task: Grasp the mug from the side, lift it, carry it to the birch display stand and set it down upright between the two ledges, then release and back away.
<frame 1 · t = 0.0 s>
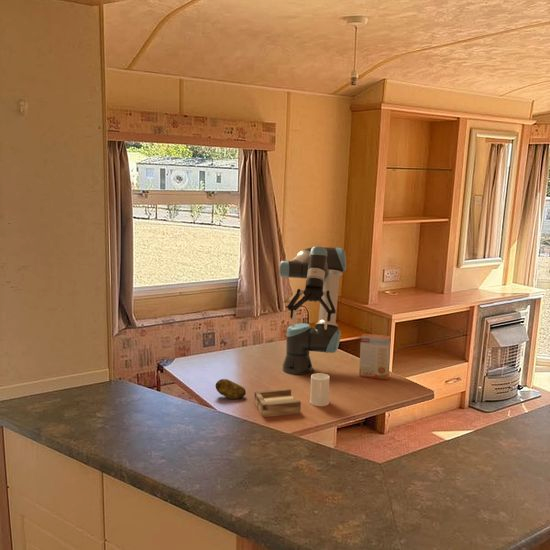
hand: (308, 327, 232), 36 cm above the table, tool tilted 35°, fingers open, 13 cm apart
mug: (319, 404, 244), on the table
cracker box: (374, 376, 279), on the table
potato: (230, 397, 250), on the table
display stand: (277, 408, 239), on the table
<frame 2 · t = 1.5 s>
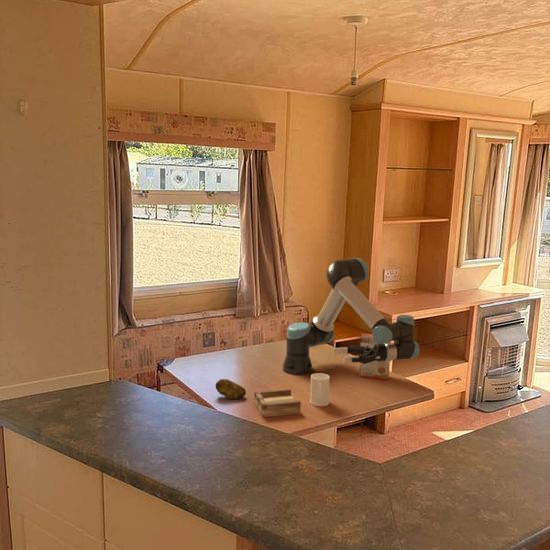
hand: (338, 355, 243), 21 cm above the table, tool horizontal, fingers open, 13 cm apart
nothing on the table moved.
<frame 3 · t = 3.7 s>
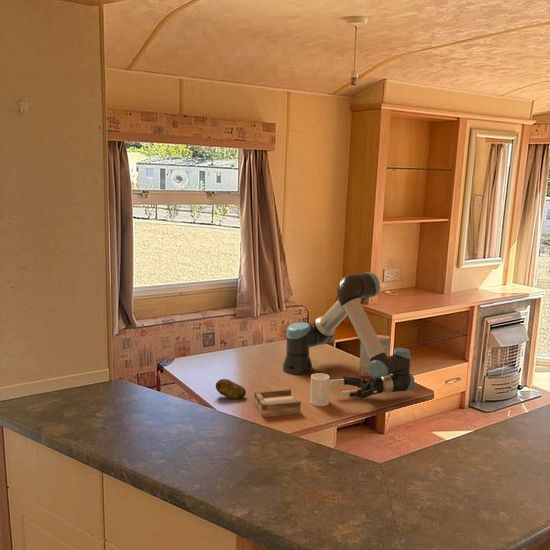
hand: (335, 388, 244), 6 cm above the table, tool horizontal, fingers open, 13 cm apart
nothing on the table moved.
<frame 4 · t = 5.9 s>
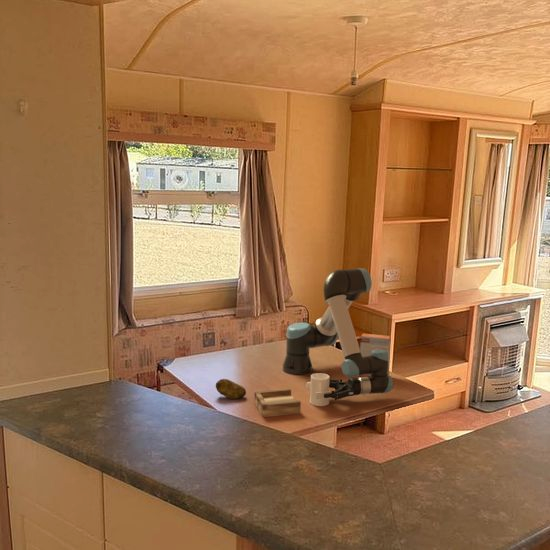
hand: (311, 390, 242), 7 cm above the table, tool horizontal, fingers closed on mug, 11 cm apart
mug: (319, 404, 244), on the table, touching gripper
everything else where it was.
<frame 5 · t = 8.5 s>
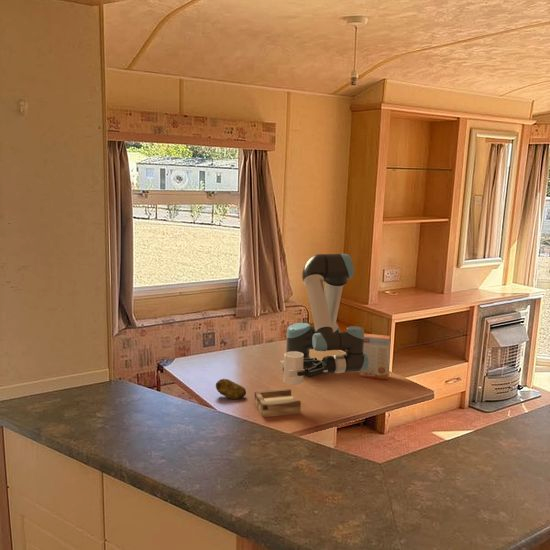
hand: (284, 368, 235), 18 cm above the table, tool horizontal, fingers closed on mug, 11 cm apart
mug: (293, 383, 237), point 11 cm above the table, touching gripper
everything else where it was.
when the fingers open (11 cm above the table, at t = 11.2 s): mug drops 1 cm, resting on display stand.
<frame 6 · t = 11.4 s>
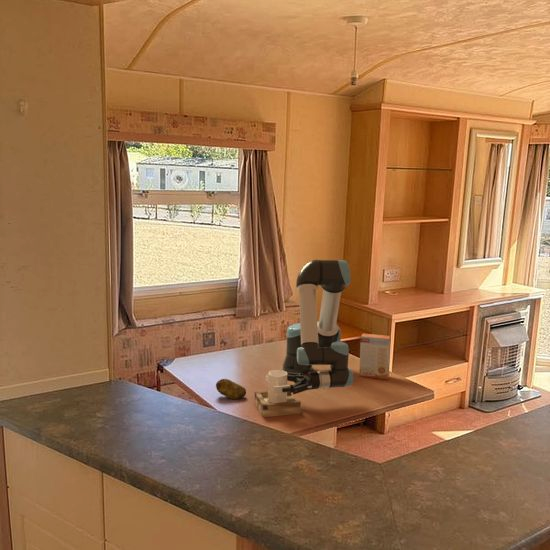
hand: (269, 384, 236), 11 cm above the table, tool horizontal, fingers open, 13 cm apart
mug: (276, 401, 239), point 3 cm above the table, touching display stand
everything else where it was.
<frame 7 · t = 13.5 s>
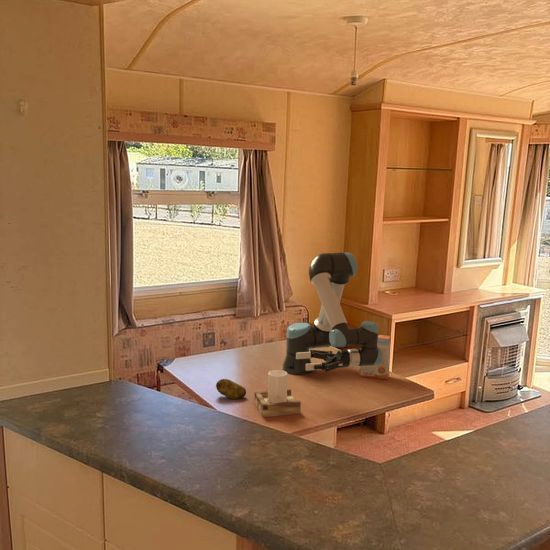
hand: (300, 361, 240), 19 cm above the table, tool horizontal, fingers open, 13 cm apart
nothing on the table moved.
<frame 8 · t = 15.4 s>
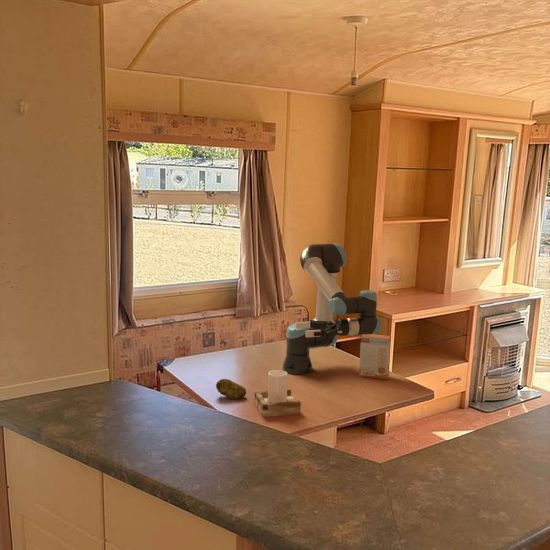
hand: (300, 329, 242), 32 cm above the table, tool horizontal, fingers open, 13 cm apart
nothing on the table moved.
at the end: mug inside the target area on the display stand (0.1 cm from its centre), point 2.8 cm above the display stand's base; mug tilted 0°; the gripper is holding nothing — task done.
